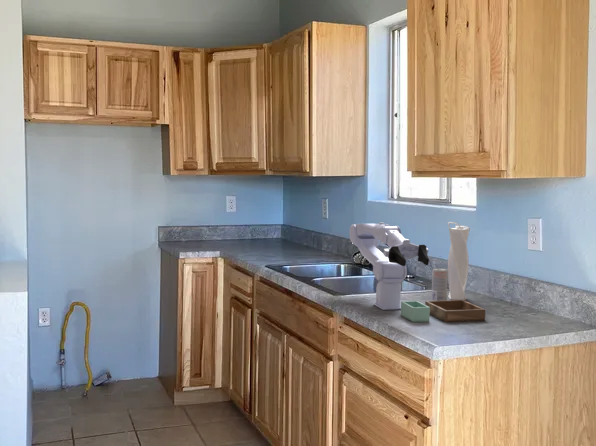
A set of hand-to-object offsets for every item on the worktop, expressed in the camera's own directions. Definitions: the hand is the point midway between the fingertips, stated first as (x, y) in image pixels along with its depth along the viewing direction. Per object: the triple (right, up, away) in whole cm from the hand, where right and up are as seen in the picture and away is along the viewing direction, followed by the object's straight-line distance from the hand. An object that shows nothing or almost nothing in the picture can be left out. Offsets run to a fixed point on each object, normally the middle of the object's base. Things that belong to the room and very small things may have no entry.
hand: (416, 262), depth 212 cm
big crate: (+14, -18, +9) cm, 24 cm away
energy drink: (+13, -16, +30) cm, 36 cm away
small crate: (0, -18, +5) cm, 19 cm away
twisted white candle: (+21, -15, +39) cm, 47 cm away
